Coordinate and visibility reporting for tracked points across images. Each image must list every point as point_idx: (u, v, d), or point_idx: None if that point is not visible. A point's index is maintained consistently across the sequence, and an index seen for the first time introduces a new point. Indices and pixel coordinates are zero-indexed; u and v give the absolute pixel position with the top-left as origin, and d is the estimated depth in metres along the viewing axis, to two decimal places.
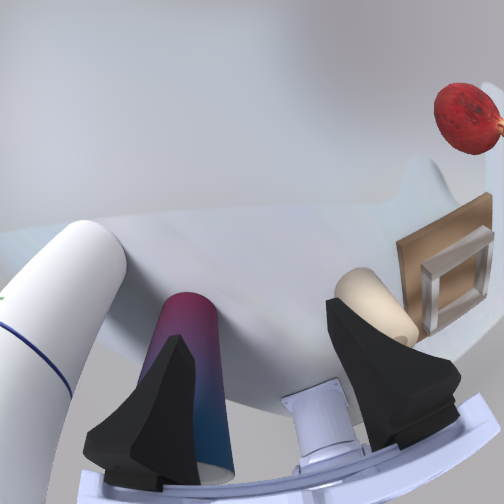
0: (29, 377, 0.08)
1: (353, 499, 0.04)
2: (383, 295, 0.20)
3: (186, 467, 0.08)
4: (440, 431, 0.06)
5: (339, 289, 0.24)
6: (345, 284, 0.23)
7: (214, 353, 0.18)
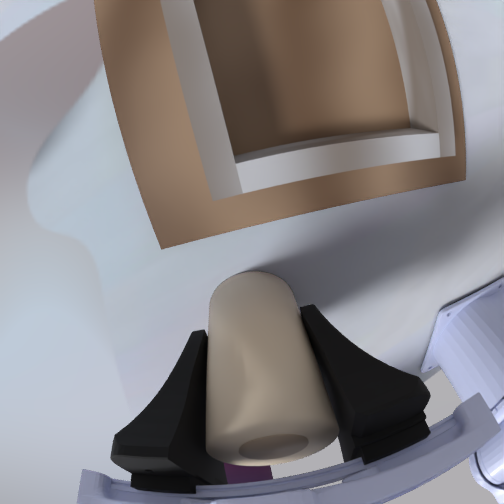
0: None
1: (353, 499, 0.04)
2: (207, 366, 0.10)
3: (215, 466, 0.08)
4: (409, 447, 0.06)
5: None
6: None
7: (228, 483, 0.15)
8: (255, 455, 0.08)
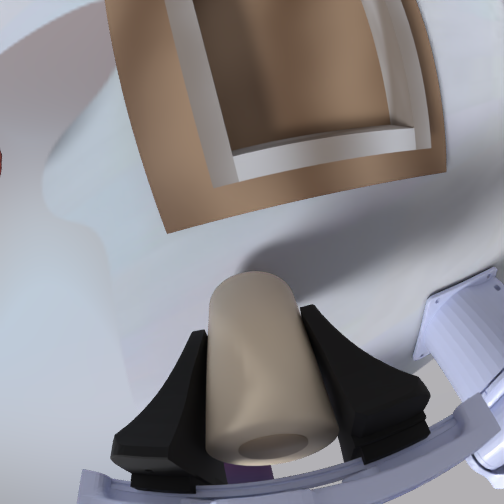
0: None
1: (353, 499, 0.04)
2: (207, 366, 0.10)
3: (215, 466, 0.08)
4: (409, 447, 0.06)
5: None
6: None
7: (226, 465, 0.16)
8: (255, 455, 0.08)
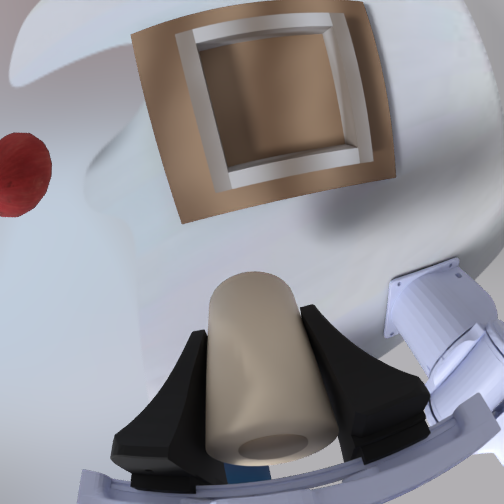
0: None
1: (353, 499, 0.04)
2: (207, 366, 0.10)
3: (215, 466, 0.08)
4: (409, 447, 0.06)
5: None
6: None
7: None
8: (255, 455, 0.08)
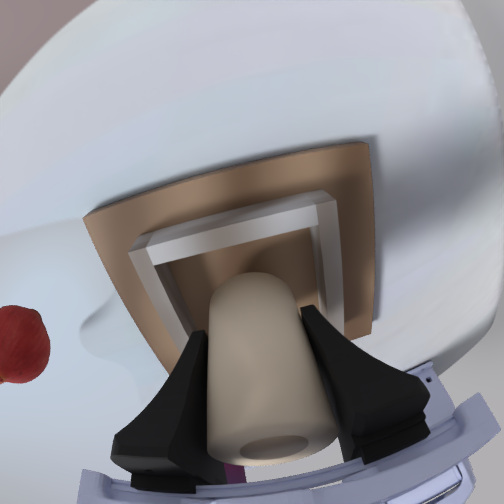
0: None
1: (353, 499, 0.04)
2: (208, 367, 0.10)
3: (215, 466, 0.08)
4: (409, 447, 0.06)
5: None
6: None
7: None
8: (255, 456, 0.08)
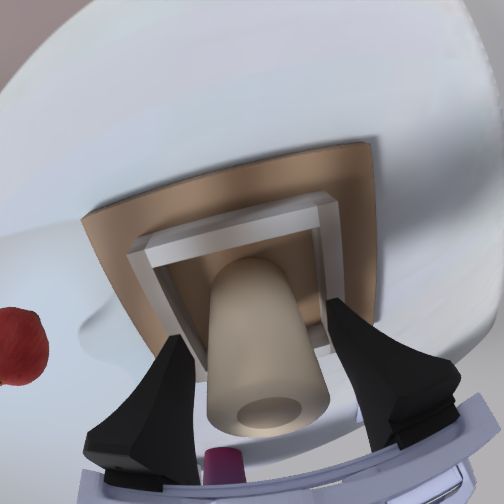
0: None
1: (353, 499, 0.04)
2: (209, 340, 0.12)
3: (186, 467, 0.08)
4: (440, 431, 0.06)
5: None
6: None
7: None
8: (252, 423, 0.09)
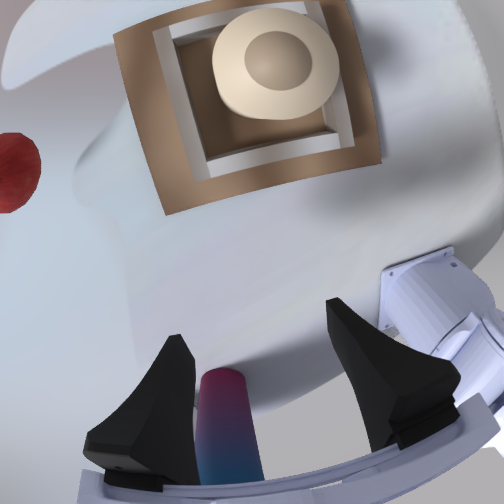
0: None
1: (353, 499, 0.04)
2: None
3: (186, 467, 0.08)
4: (440, 431, 0.06)
5: (238, 114, 0.15)
6: (227, 106, 0.14)
7: (213, 415, 0.22)
8: (260, 77, 0.08)
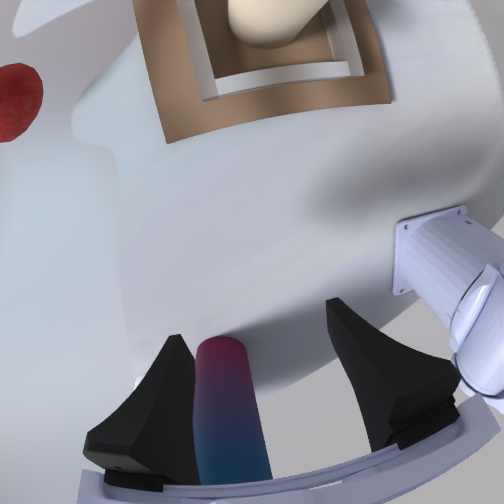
0: None
1: (353, 499, 0.04)
2: None
3: (186, 467, 0.08)
4: (440, 431, 0.06)
5: (247, 41, 0.13)
6: (236, 33, 0.12)
7: (209, 387, 0.20)
8: None
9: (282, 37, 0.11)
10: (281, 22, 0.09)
